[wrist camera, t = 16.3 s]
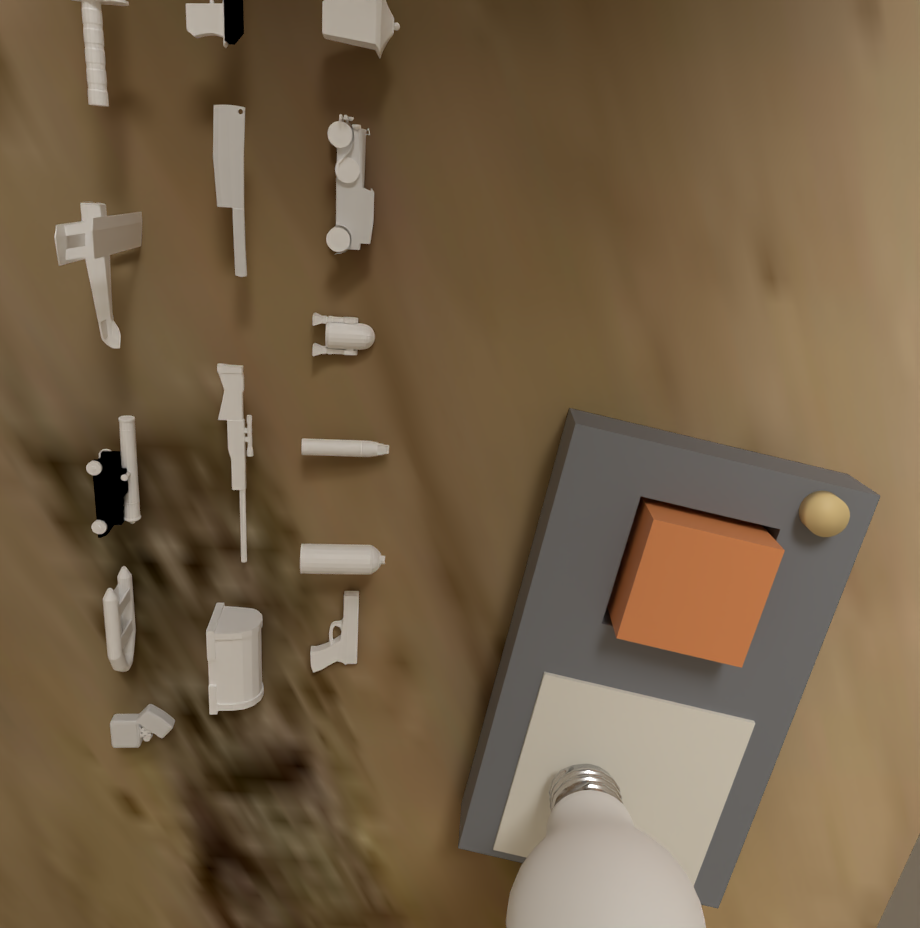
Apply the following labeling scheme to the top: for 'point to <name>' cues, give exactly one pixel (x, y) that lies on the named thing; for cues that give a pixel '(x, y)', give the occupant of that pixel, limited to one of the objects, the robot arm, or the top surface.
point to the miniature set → (227, 366)
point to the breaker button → (693, 582)
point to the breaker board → (656, 649)
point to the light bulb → (599, 865)
